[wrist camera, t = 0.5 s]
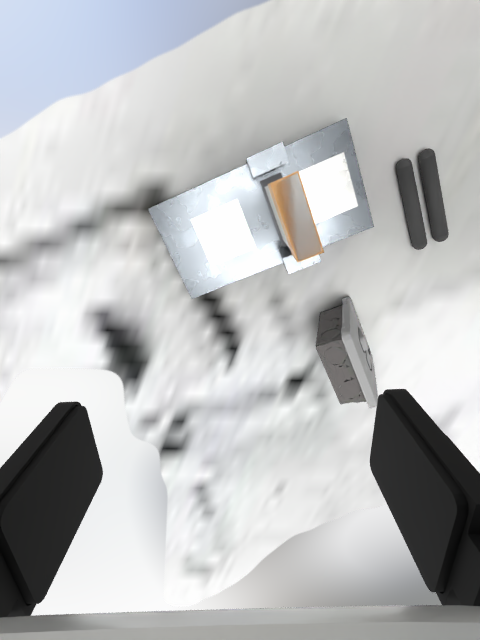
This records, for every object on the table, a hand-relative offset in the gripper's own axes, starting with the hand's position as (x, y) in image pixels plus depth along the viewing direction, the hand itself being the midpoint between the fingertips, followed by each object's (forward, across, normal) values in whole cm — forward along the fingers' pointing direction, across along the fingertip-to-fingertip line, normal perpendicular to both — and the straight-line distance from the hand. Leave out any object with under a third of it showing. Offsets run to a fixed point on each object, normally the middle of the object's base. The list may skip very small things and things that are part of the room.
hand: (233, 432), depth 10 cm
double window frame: (+28, -3, -5) cm, 28 cm away
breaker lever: (+23, -4, -6) cm, 24 cm away
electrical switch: (+28, -12, +10) cm, 32 cm away
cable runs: (+27, -19, -6) cm, 34 cm away
